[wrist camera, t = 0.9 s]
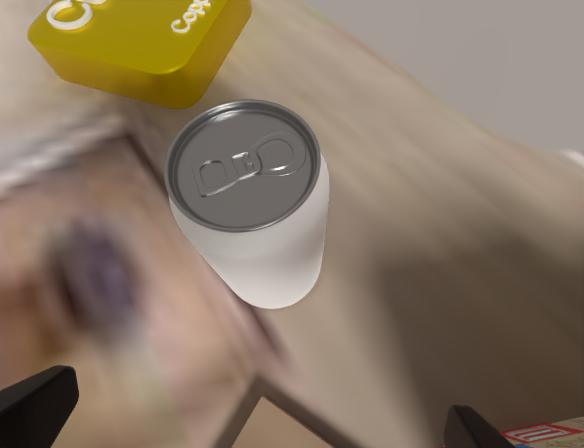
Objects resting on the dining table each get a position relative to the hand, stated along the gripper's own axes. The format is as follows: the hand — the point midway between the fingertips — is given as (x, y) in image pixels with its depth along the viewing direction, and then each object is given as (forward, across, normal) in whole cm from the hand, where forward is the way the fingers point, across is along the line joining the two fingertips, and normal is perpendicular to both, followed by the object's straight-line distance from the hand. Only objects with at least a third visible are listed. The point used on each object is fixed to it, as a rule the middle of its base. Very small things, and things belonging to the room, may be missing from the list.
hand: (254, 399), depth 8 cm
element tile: (+29, +15, -14) cm, 36 cm away
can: (+15, +2, +3) cm, 15 cm away
